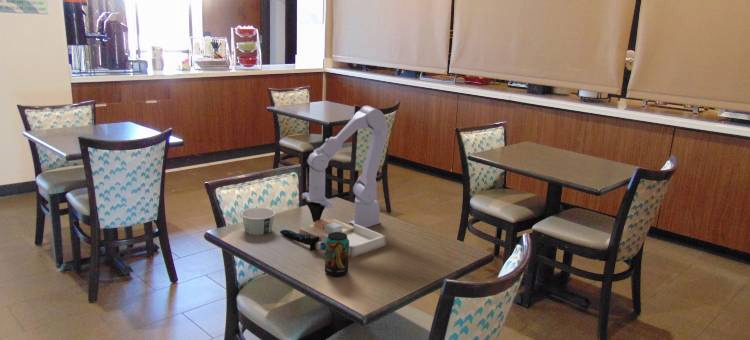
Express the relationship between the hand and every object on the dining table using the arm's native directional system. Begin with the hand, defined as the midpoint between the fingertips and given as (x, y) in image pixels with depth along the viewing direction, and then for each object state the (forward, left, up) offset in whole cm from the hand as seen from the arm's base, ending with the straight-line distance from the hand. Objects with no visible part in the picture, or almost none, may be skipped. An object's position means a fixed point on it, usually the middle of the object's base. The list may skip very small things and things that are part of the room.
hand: (316, 221), depth 205 cm
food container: (+17, -12, -3) cm, 21 cm away
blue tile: (0, +9, -1) cm, 9 cm away
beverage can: (+19, +32, -3) cm, 38 cm away
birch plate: (0, +6, -3) cm, 7 cm away
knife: (+13, +11, -3) cm, 17 cm away
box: (0, +20, -3) cm, 20 cm away
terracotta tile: (0, +4, -1) cm, 4 cm away
